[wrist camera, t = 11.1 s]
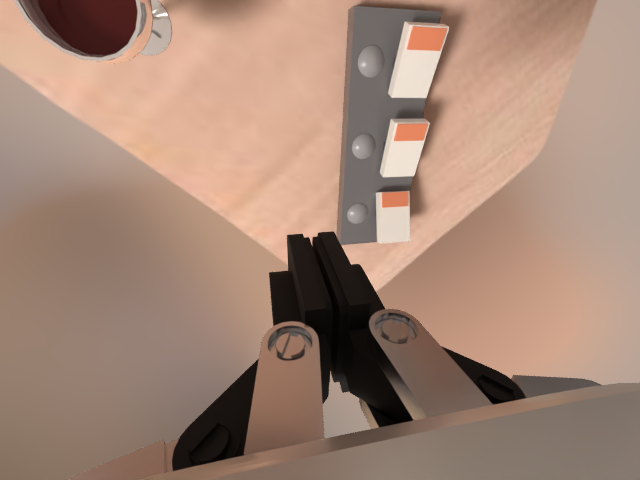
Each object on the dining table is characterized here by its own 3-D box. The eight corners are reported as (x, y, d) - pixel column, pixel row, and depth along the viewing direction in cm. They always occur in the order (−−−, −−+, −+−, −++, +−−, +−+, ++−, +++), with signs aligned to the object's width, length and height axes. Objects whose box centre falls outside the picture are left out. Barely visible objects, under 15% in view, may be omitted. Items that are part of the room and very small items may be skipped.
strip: (348, 9, 30) (356, 4, 28) (430, 14, 32) (445, 10, 29) (336, 238, 43) (341, 247, 40) (395, 233, 44) (403, 242, 42)
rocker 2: (404, 21, 28) (410, 25, 27) (443, 23, 29) (450, 27, 28) (387, 93, 32) (392, 98, 32) (421, 93, 33) (427, 98, 32)
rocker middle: (390, 118, 32) (395, 123, 31) (425, 118, 33) (430, 123, 32) (379, 172, 36) (383, 178, 35) (410, 171, 37) (414, 176, 36)
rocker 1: (375, 192, 38) (380, 192, 37) (404, 191, 39) (410, 190, 37) (377, 242, 39) (381, 243, 38) (405, 239, 40) (410, 241, 38)
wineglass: (117, 69, 29) (42, 67, 18) (84, -23, 25) (-30, -89, 15) (190, 63, 30) (158, 58, 19) (168, -27, 26) (115, -91, 16)
